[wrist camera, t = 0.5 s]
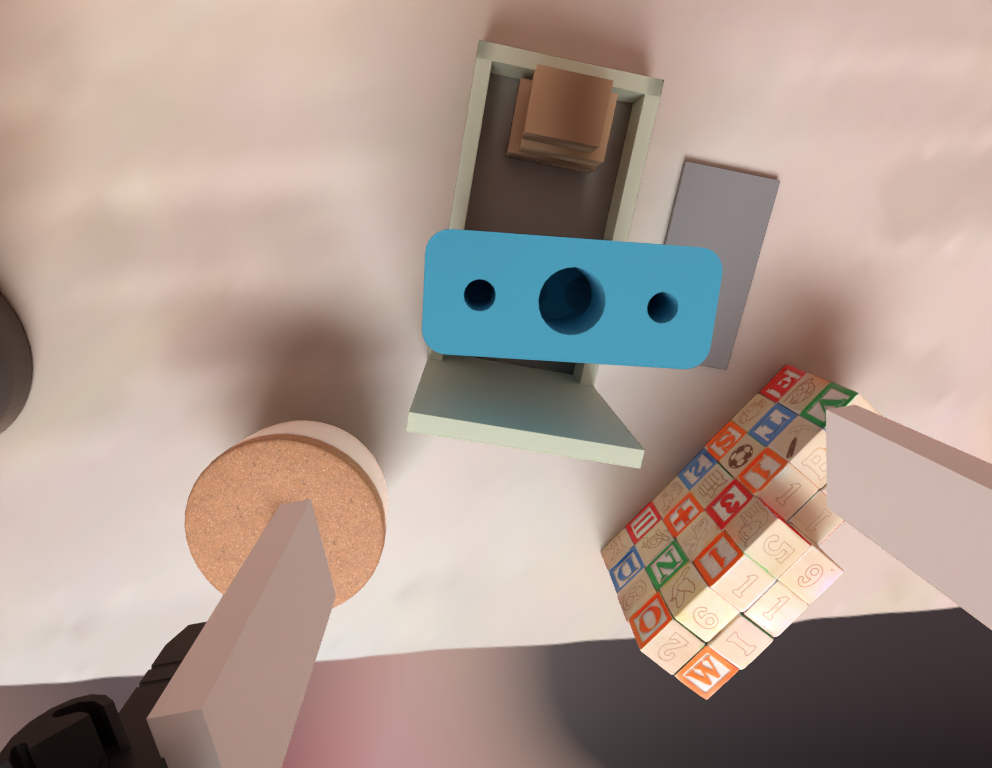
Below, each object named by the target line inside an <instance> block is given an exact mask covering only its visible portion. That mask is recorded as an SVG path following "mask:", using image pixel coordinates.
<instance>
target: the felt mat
mask: <svg viewBox="0 0 992 768" xmlns="http://www.w3.org/2000/svg"><path fill="white" fill-rule="evenodd" d="M779 184H780V181H779V180H774V179H769V178H765V177H760V176H755V175H750V174H745V173H740V172H736V171H731V170H726V169H721V168H716V167H711V166H707V165H702V164H697V163H692V162H687V161H686V162H684V165H683V169H682V173H681V177H680V181H679V185H678V189H677V194H676V198H675V202H674V206H673V210H672V214H671V218H670V222H669V226H668V230H667V234H666V238H665V242H664V245H676V246H690V247H702V248H707V249H710V250H711V251H713V252H714V253H715V254H716V255H717V256H718V257H719V259H720V261H721V263H722V268H723V270H722V280H721V286H720V292H719V298H718V305H717V311H716V317H715V323H714V329H713V336H712V342H711V348H710V351H709V354H708V356H707V357H706V359H705V360H704V361H703V362H702V363H701V364H699V365H702V366H708V367H713V368H719V369H724V370H727V367H728V363H729V360H730V356H731V353H732V349H733V346H734V342H735V339H736V335H737V332H738V328H739V325H740V321H741V317H742V314H743V310H744V307H745V303H746V300H747V296H748V293H749V289H750V286H751V282H752V279H753V275H754V272H755V268H756V265H757V261H758V258H759V254H760V251H761V247H762V243H763V240H764V236H765V233H766V229H767V226H768V222H769V219H770V215H771V212H772V208H773V205H774V201H775V198H776V194H777V191H778V187H779Z"/></svg>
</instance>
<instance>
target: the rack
mask: <svg viewBox="0 0 992 768" xmlns="http://www.w3.org/2000/svg"><path fill="white" fill-rule="evenodd" d="M537 64H540V65H544V66H549V67H553V68H558V69H563V70H567V71H572V72H577V73H581V74H586V75H590V76H595V77H600V78H604V79H609V80H613V85H612V90H611V92H612V93H616V94H618V97H617V100H618V101H623V102H628V103H632V104H633V106H632V111H631V115H630V120H629V124H628V129H627V133H626V138H625V142H624V147H623V151H622V156H621V160H620V165H619V169H618V174H617V178H616V183H615V187H614V192H613V196H612V201H611V205H610V210H609V214H608V219H607V224H606V228H605V233H604V237H603V240H608V241H622V242H627V239H628V235H629V231H630V226H631V222H632V218H633V213H634V209H635V205H636V200H637V196H638V192H639V187H640V183H641V179H642V174H643V170H644V166H645V161H646V157H647V153H648V148H649V144H650V140H651V135H652V131H653V127H654V122H655V118H656V114H657V109H658V105H659V101H660V96H661V92H662V88H663V83H664V80H661V79H657V78H652V77H647V76H643V75H638V74H634V73H629V72H624V71H620V70H615V69H611V68H606V67H602V66H597V65H592V64H588V63H583V62H579V61H574V60H570V59H565V58H560V57H556V56H551V55H547V54H542V53H537V52H533V51H528V50H524V49H519V48H515V47H510V46H505V45H501V44H496V43H492V42H487V41H483V40H479V43H478V50H477V56H476V62H475V68H474V74H473V81H472V87H471V93H470V99H469V106H468V112H467V118H466V124H465V130H464V137H463V143H462V149H461V155H460V162H459V168H458V174H457V180H456V186H455V193H454V199H453V205H452V211H451V218H450V224H449V229H458V230H464V229H465V223H466V217H467V211H468V205H469V199H470V193H471V187H472V181H473V175H474V169H475V163H476V157H477V151H478V145H479V139H480V133H481V127H482V121H483V115H484V109H485V103H486V97H487V91H488V85H489V79H490V73H492V74H497V75H501V76H506V77H511V78H515V79H520V80H521V78H524V79H529V80H532V79H533V75H534V72H535V70H536V67H537ZM598 365H599V364H593V363H576V364H575V368H574V373H573V375H572V374H566V373H560V372H554V371H548V370H543V369H537V368H531V367H525V366H519V365H514V364H508V363H502V362H496V361H491V360H485V359H479V358H473V357H467V356H462V355H446V354H440V353H438V352H436V351H433V350H432V349H431V348H429V355H428V359H427V362H426V365H425V368H424V371H423V374H422V377H421V380H420V382H419V385H418V388H417V391H416V394H415V397H414V400H413V403H412V405H411V408H410V411H409V417H408V423H407V429H406V431H408V432H415V433H421V434H427V435H433V436H440V437H446V438H452V439H458V440H464V441H471V442H477V443H483V444H489V445H496V446H502V447H508V448H514V449H520V450H527V451H533V452H539V453H545V454H552V455H558V456H564V457H570V458H576V459H583V460H589V461H595V462H601V463H608V464H614V465H620V466H626V467H632V468H639V469H640V467H641V463H642V460H643V456H644V452H645V450H644V449H643V448H642V446H641V445H640V444H639V443H638V441H637V440H636V439H635V438H634V436H633V435H632V434H631V433H630V431H629V430H628V429H627V428H626V426H625V425H624V424H623V423H622V422H621V420H620V419H619V418H618V417H617V415H616V414H615V413H614V412H613V410H612V409H611V408H610V407H609V405H608V404H607V403H606V402H605V400H604V399H603V398H602V397H601V395H600V394H599V393H598V392H597V390H596V389H595V388H594V382H595V378H596V374H597V369H598Z"/></svg>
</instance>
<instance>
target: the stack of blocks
mask: <svg viewBox="0 0 992 768" xmlns="http://www.w3.org/2000/svg"><path fill="white" fill-rule="evenodd" d="M850 405H857V406H860V407H862V408H864V409H866V410H869V411H871V412H873V413H876V414H878V415H880V416H882V415H881V414H880V413H879V412H878V411H877V410H876V409H875V408H874V407H873V406H872V405H871V404H870V403H869V402H868V401H867V400H866V399H865V398H864V397H862V396H861V395H860V394H859V393H857V392H855V391H853V390H851V389H848V388H846V387H843V386H841V385H838V384H836V383H834V382H831V383H830V382H828V381H826V380H824V379H822V378H820V377H818V376H815V375H813V374H811V373H806V372H804V371H802V370H800V369H798V368H796V367H793V366H791V365H787V364H786V365H785V366H784V367H783V368H782V370H781V371H780V372H779V373H778V374H777V375H776V376H775V377H774V378H773V379H772V380H771V381H770V382H769V383H768V384H767V385H766V386H765V387H764V388H763V389H762V390H761V392H760V393H759V394H756V395H755V396H754V397H753V398H752V399H751V400H750V401H749V402H748V403H747V404H746V405H745V406H744V407H743V408H742V409H741V410H740V411H739V412H738V413H737V414H736V415H735V416H734V417H733V419H732V420H731V421H730V422H728V423H727V424H726V425H725V426H724V427H723V428H722V429H721V430H720V431H719V432H718V433H717V434H716V435H715V436H714V437H713V438H712V439H711V440H710V441H709V442H708V443H707V444H706V445H705V447H704V449H703V450H702V451H701V452H700V453H699V454H698V455H697V456H696V457H695V458H694V459H693V460H692V461H691V462H690V463H689V464H688V465H687V466H686V467H685V468H684V469H683V470H682V471H681V472H680V473H679V474H678V476H677V477H675V478H674V479H673V480H672V481H671V482H670V483H669V484H668V485H667V486H666V488H664V490H663V491H662V492H661V493H660V494H659V495H658V496H657V497H656V498H655V499H654V500H653V501H651V502H650V503H649V504H648V505H647V506H646V507H645V508H644V509H643V510H642V511H641V512H640V513H639V514H638V515H637V516H636V517H635V518H634V519H633V520H632V521H631V522H630V523H629V524H628V525H627V526H626V527H625V528H624V529H622V530H621V531H620V532H619V533H618V534H617V535H616V536H615V537H614V538H613V539H612V540H611V542H610V543H609V544H608V545H607V546H606V547H605V548H604V549H603V550H602V551H601V554H602V557H603V559H604V562H605V565H606V567H607V569H608V571H609V573H610V576H611V579H612V581H613V584H614V587H615V590H616V592H617V594H618V596H617V597H618V600H619V603H620V605H621V608H622V610H623V613H624V615H625V618H626V620H627V622H628V623H630V625H631V628H632V631H633V633H634V636H635V638H636V641H637V644H638V646H639V649H640V650H641V651H642V652H643V653H644V654H646V655H647V656H648V657H649V658H651V659H652V660H653V661H655V662H656V663H657V664H659V665H660V666H661V667H662V668H664V669H665V670H666V671H667V672H669V673H670V674H672V675H673V674H674V675H675V677H677V679H679V680H680V681H681V682H682V683H684V684H685V685H686V686H688V687H689V688H691V689H692V690H694V691H695V692H696V693H697V694H699V695H700V696H701V697H703V698H705V699H708V698H709V697H710V696H711V695H713V694H714V693H715V692H716V691H717V690H718V689H719V688H720V687H721V686H722V685H723V684H724V683H726V682H727V681H728V680H729V679H730V678H731V677H732V676H733V675H734V674H735V673H736V672H737V671H738V670H739V669H744V668H745V667H746V666H747V665H748V664H749V663H751V662H752V661H753V660H754V659H755V658H756V657H757V656H758V655H759V654H760V653H761V652H762V651H763V650H764V649H765V648H766V647H767V646H768V645H769V644H770V643H771V642H772V641H773V637H777V636H779V635H780V634H781V633H782V632H783V631H784V630H785V629H786V628H787V627H788V626H789V625H790V624H791V623H793V621H794V620H795V619H796V618H797V617H798V616H799V615H801V614H802V613H803V612H804V611H805V610H806V609H807V607H808V604H810V603H812V602H813V601H814V600H815V599H816V598H817V597H818V596H820V595H821V594H822V593H823V592H824V591H825V590H826V589H827V588H828V587H829V586H830V585H831V584H832V583H833V582H834V581H835V580H836V579H837V578H838V577H839V576H840V575H841V574H842V573H843V572H844V571H843V570H842V569H841V568H840V567H839V566H838V565H837V564H836V563H835V562H834V561H833V560H832V559H831V558H830V557H829V556H828V555H826V554H825V553H824V552H823V551H822V550H821V549H820V548H819V547H818V546H819V545H820V544H821V543H822V542H823V541H824V540H825V539H826V538H827V537H828V536H829V535H830V534H831V533H832V532H833V531H834V530H835V529H836V528H838V527H839V526H840V525H841V524H842V523H843V522H844V520H843V519H842V518H840V517H839V516H838V515H836V514H835V513H834V512H832V511H831V510H830V509H828V508H827V470H826V410H827V409H833V408H838V407H844V406H850Z"/></svg>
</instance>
